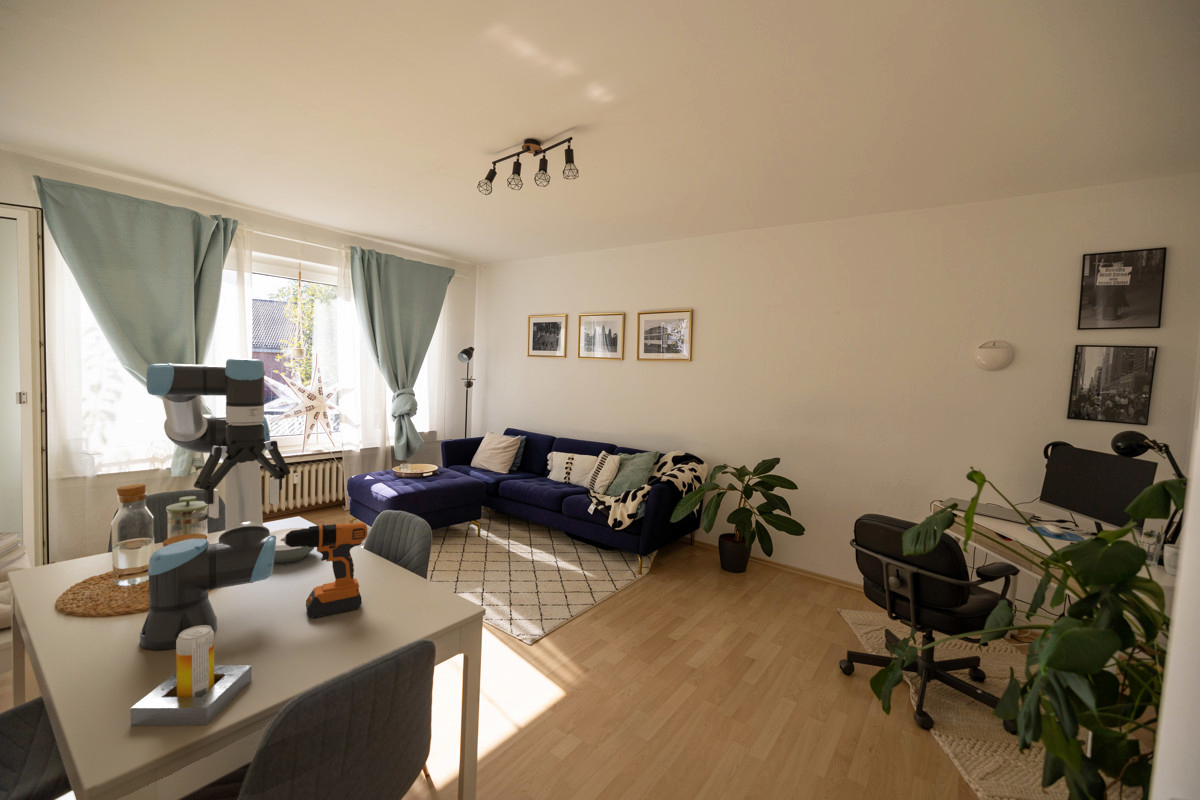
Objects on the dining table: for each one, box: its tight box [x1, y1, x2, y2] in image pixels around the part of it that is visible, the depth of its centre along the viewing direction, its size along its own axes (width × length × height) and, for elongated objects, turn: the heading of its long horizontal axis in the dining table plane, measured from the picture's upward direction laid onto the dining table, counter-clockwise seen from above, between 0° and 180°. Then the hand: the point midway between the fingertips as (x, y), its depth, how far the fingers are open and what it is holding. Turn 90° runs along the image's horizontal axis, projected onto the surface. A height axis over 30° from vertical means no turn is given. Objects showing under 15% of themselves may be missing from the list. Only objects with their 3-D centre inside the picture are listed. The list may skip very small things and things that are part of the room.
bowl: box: [270, 527, 315, 564], centre depth 180 cm, size 19×19×8 cm
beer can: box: [175, 625, 215, 697], centre depth 104 cm, size 6×6×15 cm
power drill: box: [281, 521, 368, 619], centre depth 143 cm, size 22×7×25 cm, turn 123°
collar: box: [130, 664, 253, 726], centre depth 105 cm, size 14×14×4 cm
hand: (245, 510), depth 122 cm, fingers open, 13 cm apart
